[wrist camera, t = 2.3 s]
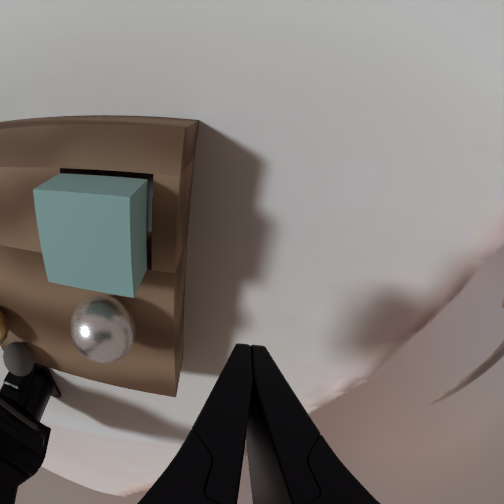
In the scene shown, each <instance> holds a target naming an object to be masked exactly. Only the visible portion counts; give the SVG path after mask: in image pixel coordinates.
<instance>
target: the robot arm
mask: <svg viewBox="0 0 504 504" xmlns="http://www.w3.org/2000/svg"><path fill="white" fill-rule="evenodd" d="M50 396H54V397H57V398H60V397H61V394H60V392H59V390H58V388H57V386H56V384H55V382H54V380H53V378H52V376H51V374H50V372H49V370H48V368H47V367H45V366H43V365H40V364H37V363H34V366H33V369H32V370H31V372H30V373H29V374H27V375H25V376H16V375H14V374H12V373H11V372H10V371H9V372H8V374H7V376H6V378H5V379H4V384H3V386H2V388H1V390H0V504H15V498H16V493H17V489H18V486H19V485H20V484H22V483H23V482H25V481H26V480H27V479H29V478H30V477H31V476H33V475H34V474H36V472H37V471H38V469H39V468H40V467H41V465H42V463H43V461H44V458H45V455H46V450H47V445H48V441H49V436H50V431H51V428H49V427H46V426H45V425H43V424H42V423H40V420H41V417H42V415H43V412H44V410H45V407H46V405H47V403H48V400H49V398H50ZM245 440H246V443H247V453H248V461H249V472H250V481H251V489H252V499H253V504H380V503H379V502H378V501H377V500H376V499H375V498H374V497H373V496H372V495H371V494H369V492H368V491H367V490H366V489H365V488H364V487H363V486H362V485H361V484H360V482H358V480H357V479H356V478H355V477H354V476H353V475H352V474H351V473H350V472H349V470H347V468H346V467H345V466H344V465H343V463H342V462H341V461H340V460H339V459H338V457H337V456H336V455H335V453H334V452H333V451H332V449H331V448H330V447H329V445H328V444H327V442H326V441H325V439H324V438H323V436H322V435H320V432H319V430H318V429H317V427H316V426H315V424H314V423H313V421H312V420H311V418H310V417H309V415H308V413H307V412H306V410H305V409H304V407H303V406H302V404H301V403H300V401H299V400H298V398H297V397H296V395H295V393H294V392H293V390H292V389H291V387H290V386H289V384H288V382H287V381H286V379H285V378H284V376H283V375H282V373H281V371H280V370H279V368H278V367H277V365H276V363H275V362H274V360H273V359H272V357H271V355H270V354H269V352H268V351H267V349H266V347H264V346H260V345H251V346H250V345H248V344H239V343H238V344H236V345H235V347H234V349H233V351H232V353H231V355H230V357H229V359H228V361H227V363H226V365H225V367H224V368H223V370H222V372H221V374H220V376H219V378H218V380H217V382H216V384H215V386H214V388H213V390H212V391H211V393H210V395H209V397H208V399H207V401H206V403H205V405H204V407H203V408H202V410H201V412H200V414H199V416H198V418H197V420H196V422H195V423H194V425H193V427H192V430H191V431H190V432H189V434H188V436H187V438H186V440H185V441H184V443H183V445H182V446H181V448H180V450H179V451H178V453H177V455H176V456H175V457H174V459H173V460H172V462H171V463H170V464H169V466H168V467H167V468H166V470H165V471H164V472H163V474H162V475H161V476H160V477H159V478H158V480H157V481H156V482H155V483H154V485H153V486H152V487H151V488H150V489H149V491H148V492H147V493H146V494H145V496H144V497H143V498H142V499H141V500H140V501H139V502H138V503H137V504H237V499H238V492H239V485H240V477H241V470H242V463H243V455H244V448H245Z"/></svg>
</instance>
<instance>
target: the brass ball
mask: <svg viewBox="0 0 504 504" xmlns="http://www.w3.org/2000/svg"><path fill="white" fill-rule="evenodd" d="M8 332H9V324H8V320H7V318H6V316H5V314H4V313H3V312H2V311H1V310H0V344H2V343H3V342H4V341H5V340H6V338H7V336H8Z"/></svg>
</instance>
